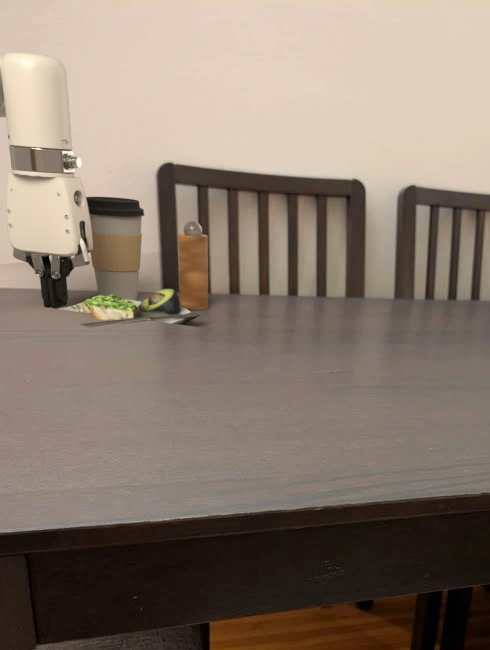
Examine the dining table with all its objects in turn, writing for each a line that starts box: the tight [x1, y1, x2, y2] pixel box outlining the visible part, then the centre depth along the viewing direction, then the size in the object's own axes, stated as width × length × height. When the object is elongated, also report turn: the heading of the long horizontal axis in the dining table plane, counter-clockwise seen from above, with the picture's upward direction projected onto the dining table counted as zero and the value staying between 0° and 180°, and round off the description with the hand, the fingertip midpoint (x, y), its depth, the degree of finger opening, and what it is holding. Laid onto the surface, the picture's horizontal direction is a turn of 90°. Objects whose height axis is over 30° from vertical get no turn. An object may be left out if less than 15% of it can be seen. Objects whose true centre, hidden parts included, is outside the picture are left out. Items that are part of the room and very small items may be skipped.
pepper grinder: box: [177, 220, 209, 311], centre depth 113 cm, size 4×4×13 cm
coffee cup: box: [86, 196, 145, 301], centre depth 114 cm, size 9×9×15 cm
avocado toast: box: [59, 288, 203, 329], centre depth 99 cm, size 19×18×5 cm
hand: (55, 306), depth 102 cm, fingers closed
